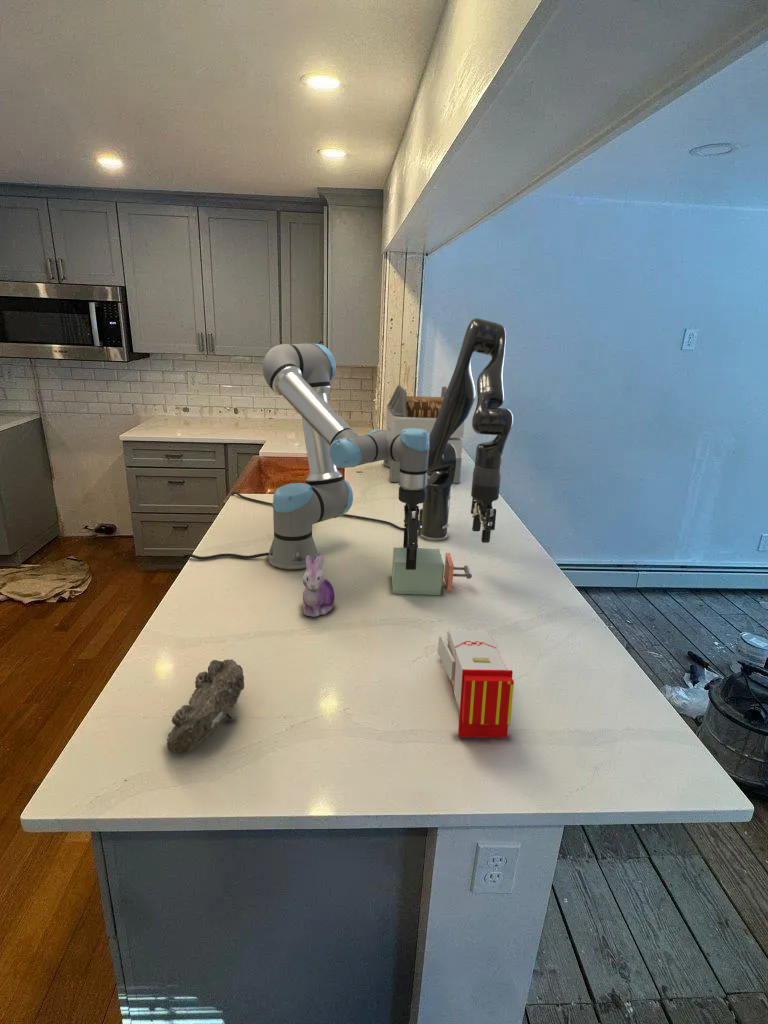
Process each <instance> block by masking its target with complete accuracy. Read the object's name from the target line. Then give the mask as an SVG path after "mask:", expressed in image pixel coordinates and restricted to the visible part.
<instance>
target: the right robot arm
mask: <svg viewBox="0 0 768 1024" xmlns="http://www.w3.org/2000/svg"><path fill="white" fill-rule="evenodd" d="M506 341H507V333H506V328H505V326H504V325H503V324H501V323H497V322H494V321H492V320H491V321H490V320H486V319H483V318H480V317H479V318H478V317H474V318H472V319H471V321H470V322H469V324H468V325H467V328H466V330H465V333H464V337H463V340H462V343H461V347H460V350H459V355H458V358H457V360H456V364H455V367H454V370H453V373H452V376H451V378H450V381H449V383H448V386H447V391H446V393H445V396H444V399H443V402H442V405H441V408H440V411H439V414H438V416H437V419H436V421H435V424H434V426H433V429H432V431H431V433H430V435H429V445H430V448H429V456H428V467H427V468H428V472H427V473H431V475H429V476H430V477H429V478H428V479H427V486H426V487H425V488H426V489H427V492H426V501H425V502H424V503H422V506H421V508H420V509H419V522H418V537H419V536H420V538H421V539H424V540H426V541H432V542H440V541H444V540H446V539H447V538H448V528H449V526H450V524H449V517H450V516H449V514H450V504H451V494H452V493H451V491H452V486H453V484H454V483H453V482H454V476H455V469H456V461H457V455H456V450H455V448H454V446H453V445H452V444H450V443H447V442H448V440H449V438H450V437H451V436H452V434H453V433H454V432H455V431H456V430H457V429H458V428H459V427H460V425H461V424H462V423H463V422H464V423H465V421H466V419H468V417H469V415H470V414H471V410H472V408H473V405H474V402H475V399H476V397H477V400H476V402H477V403H476V406H475V409H474V412H473V416H472V419H471V426H472V430H473V431H474V432H475V433H476V434H478V435H487V436H488V435H489V436H495V437H494V438H493V440H490V441H489V440H488V441H484V442H480V443H478V444H477V445H476V449H475V460H474V466H473V471H472V480H471V492H470V497H471V498H472V500H471V506H470V507H471V508H470V514H471V517H472V528H471V530H472V531H473V532H480V531H481V537H480V538H481V539H480V541H481V543H482V544H489V543H490V541H491V534H492V533H491V532H492V531H495V530H496V520H497V518H496V517H497V509H496V508H493V507H494V506H493V502H496V501H497V500H498V499H499V498H500V488H501V479H502V464H503V463H502V461H503V455H504V449H505V445H506V443H507V440H508V438H509V435H510V433H511V430H512V428H513V425H514V415H513V413H512V411H511V410H510V409H508V408H505V407H502V405H503V404H504V401H505V393H504V382H503V380H504V379H503V371H504V362H505V355H506V354H505V353H506ZM474 353H478V354H481V355H486V356H489V357H490V361H489V362H488V364H487V365H486V366H485V367H483V369H482V370H481V371H480V373H479V375H478V377H477V381H476V386H475V381H474V379H473V374H472V365H471V364H472V358H473V354H474ZM234 495H236V496H238V497H239V498H241V499H245V500H248V501H252V502H256V503H259V504H265V505H269V506H272V504H273V502H269V501H264V500H260V499H256V498H251V497H248V496H244V495H242V494H240V493H239V492H236V491H234V492H232V493H230V496H234ZM340 517H347V518H354V519H361V520H366V521H372V522H378V523H381V524H387V525H390V526H392V527H394V528H396V529H398V530H400V531H404V528H405V527H401V526H398V525H396V524H395V523H393V522H391V521H387V520H383V519H378V518H372V517H367V516H360V515H354V514H348V513H345V514H343V515H341V516H340Z"/></svg>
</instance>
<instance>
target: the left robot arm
mask: <svg viewBox="0 0 768 1024" xmlns="http://www.w3.org/2000/svg"><path fill="white" fill-rule="evenodd" d="M336 363H337V362H336V360H335V357H334V354H333V353H332V351H331V350H330V349H328V347H327V346H325V345H323V344H320V343H312V342H311V343H310V342H308V343H281V344H277V345H275V346H273V347H271V348H270V349H269V350H268V351H267V352H266V353H265V356H264V358H263V362H262V374H263V377H264V380H265V382H266V384H267V385H268V387H269V388H270V389H271V390H272V391H273V392H274V393H275V394H276V395H278V396H282V397H283V398H284V399H285V400H286V401H287V402H288V404H290V406H291V407H292V408H294V410H295V411H296V412H297V413H298V414H299V415H300V416H301V422H302V428H303V435H304V443H305V450H306V455H307V457H306V458H307V462H308V469H309V474H308V476H307V477H306V479H305V482H295V483H293V482H290V483H287V484H283V485H281V486H279V487H278V488H276V490H274V492H273V496H272V497H273V498H272V503H273V504H272V505H271V506H272V513H273V514H272V517H273V519H272V520H273V538H272V542H271V545H270V547H269V551H268V552H262V553H256V554H250V555H243V554H237V553H227V552H226V553H217V554H213V555H205V556H200V555H199V556H198V555H196V554H194V553H193V554H192V553H185V554H182V556H181V557H180V559H185V558H188V557H189V558H192V559H196V560H200V561H202V560H212V559H217V558H224V557H225V558H226V557H232V558H238V559H245V560H246V559H247V560H248V559H255V558H261V557H268V563H269V564H270V565H271V566H272V567H274V568H277V569H281V570H288V571H289V570H291V571H293V570H296V571H297V570H303V569H306V557H307V556H308V555H310V556H311V558H312V560H313V562H315V561H316V560H317V558H318V557H319V550H318V549H317V545H316V543H315V540H314V537H313V525H316V524H318V523H321V522H324V521H328V520H331V519H336V518H339V517H342V516H341V515H343V514H348V512H349V511H350V509H351V507H352V505H353V501H354V492H353V488H352V487H351V485H350V483H349V482H348V481H347V480H346V479H344V476H343V473H341V472H340V471H339V470H338V469H350V468H356V467H357V466H362V465H366V464H371V463H375V462H379V461H384V460H385V459H387V460H392V461H396V462H400V470H399V482H398V486H399V487H398V501H400V502H401V503H404V504H405V505H404V506H403V511H404V512H403V513H404V514H403V515H404V518H403V523H404V524H403V528H404V530H403V545H402V546H403V547H402V548H407V552H406V570H416V557H417V548H419V544H418V542H419V540H418V539H419V535H418V522H419V515H420V508H419V507H420V506H419V504H423V503H424V502H425V501H426V492H427V489H426V488H425V487H426V486H427V479H428V478H429V477H430V476H431V475H430V474H428V473H429V472H428V468H427V467H428V456H429V448H430V445H429V433H428V432H427V431H426V430H424V429H416V428H407V429H404V430H402V432H401V434H398V433H394V432H389V431H386V429H378V428H375V429H372V430H369V432H367V434H362V435H359V434H357V432H356V431H355V430H354V429H352V428H351V426H349V425H348V423H347V422H346V421H345V420H344V419H343V418H342V417H341V416H340V415H339V414H338V413H337V412H336V411H335V410H334V409H333V407H331V406H330V405H329V403H328V394H327V393H328V392H329V391H330V389H331V388H332V387H331V381H332V380H333V379H334V378H335V376H336V375H335V374H336V372H337V364H336Z"/></svg>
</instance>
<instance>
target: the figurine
mask: <svg viewBox="0 0 768 1024" xmlns="http://www.w3.org/2000/svg"><path fill="white" fill-rule="evenodd" d="M324 560H325V556H324V554H319V555H318V558H317V560H316V561H315V562H313V560H312V558H311V556H310V555H308V556H307V557H306V568H305V572H304V573H303V576H302V584H303V586H304V589H303V591H302V603H303V604H302V609H303V615H305V616H307V617H319V616H324V615H326V614H328V613H329V612H331V611H332V610H333V609H334V606H335V605H334V604H335V597H336V595H335V590H334V589H335V588H334V586H333V585H332V583H331V582H330V581H329V580H328V579H327V578H325V574H324V572H323V570H322V568H323V564H324Z"/></svg>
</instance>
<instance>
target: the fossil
mask: <svg viewBox="0 0 768 1024" xmlns="http://www.w3.org/2000/svg"><path fill="white" fill-rule="evenodd" d="M243 670H244V669H243V667H242V665H240V664H237V662H236V661H235V660H234V659H232V658H231V659H227V658H226V659H224V660H223V661H222V660H217V659H212V660H211V661H210V663H209V665H208V666H207V671H201V672H199V673H198V674H197V675H196V676H195V680H194V684H195V685H194V687H195V689H194V690H193V693H192V694H191V697H190V698H189V700H188V704H184V705H182V706H181V707H180V709H177V710H176V711H175V713H174V715H173V716H172V718H171V723H172V724H173V727H172V730H171V731H170V732H168V734H167V738H166V741H167V742H166V745H167V749H168V750H169V751H173V752H174V753H176V754H178V753H182V752H188V751H189V752H192V751H193V750H195V748H196V747H197V746H199V744H200V743H201V742H203V741H204V740H205V739H206V738H207V737H208V736H209V735H210V734H211V733H212V732H214V730H215V729H217V727H218V726H219V724H220V722H221V721H222V720H223V719H224V718H225V716H226V717H227V719H229V720H233V717H232V715H230V714H229V710H230V709H231V708H234V706H235V704H236V703H237V702H238V699H239V697H240V695H241V693H242V691H243V690H245V689H244V688H245V675H244V671H243Z"/></svg>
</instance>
